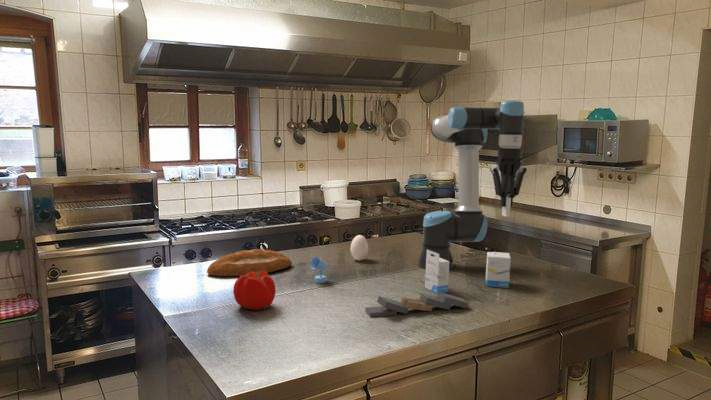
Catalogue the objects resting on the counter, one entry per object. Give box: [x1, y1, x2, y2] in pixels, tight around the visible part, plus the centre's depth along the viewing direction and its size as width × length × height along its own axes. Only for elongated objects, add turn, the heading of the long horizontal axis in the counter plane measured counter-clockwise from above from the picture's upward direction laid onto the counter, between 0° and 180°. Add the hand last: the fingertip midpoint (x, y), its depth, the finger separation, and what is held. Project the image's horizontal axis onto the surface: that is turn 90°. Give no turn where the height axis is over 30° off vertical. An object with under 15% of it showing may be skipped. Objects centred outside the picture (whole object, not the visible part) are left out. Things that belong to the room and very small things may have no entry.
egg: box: [350, 234, 369, 261], centre depth 231 cm, size 8×8×11 cm
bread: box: [206, 248, 293, 278], centre depth 213 cm, size 18×35×9 cm, turn 116°
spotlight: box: [309, 256, 329, 284], centre depth 200 cm, size 5×10×7 cm
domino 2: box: [376, 295, 410, 315], centre depth 167 cm, size 5×2×9 cm
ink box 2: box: [485, 251, 512, 289], centre depth 200 cm, size 9×8×12 cm
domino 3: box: [419, 292, 452, 311], centre depth 173 cm, size 5×2×9 cm
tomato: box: [232, 271, 276, 311], centre depth 171 cm, size 13×14×12 cm
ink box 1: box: [424, 249, 450, 295], centre depth 191 cm, size 8×5×15 cm, turn 26°
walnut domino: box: [400, 296, 434, 312], centre depth 170 cm, size 5×2×9 cm
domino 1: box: [364, 305, 398, 318], centre depth 168 cm, size 5×2×9 cm
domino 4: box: [436, 292, 470, 310], centre depth 174 cm, size 5×2×9 cm
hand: (505, 215), depth 180 cm, fingers closed
